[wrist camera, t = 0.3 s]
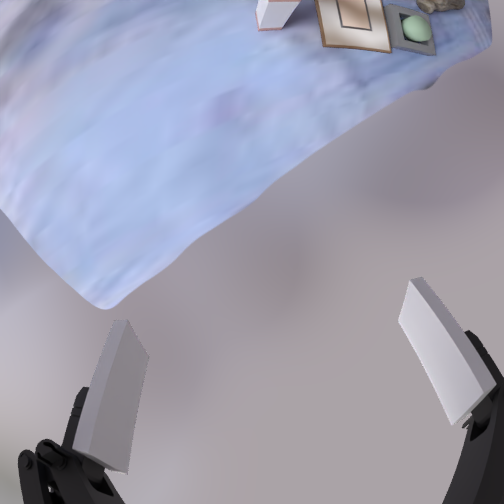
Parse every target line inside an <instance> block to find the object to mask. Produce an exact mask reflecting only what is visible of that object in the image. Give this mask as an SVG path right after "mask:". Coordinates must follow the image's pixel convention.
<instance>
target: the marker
mask: <svg viewBox="0 0 504 504" xmlns="http://www.w3.org/2000/svg"><path fill="white" fill-rule="evenodd" d="M300 1H301V0H259V1H258V5H257V9H256V13H255V14H256V20H257V26H258V31H267V30H281V29H282V27H283V26H284V24H285V23H286V21H287V20H288V18H289V17H290V15H291V14H292V12H293V11H294V10H295V8H296V7H297V5H298V4H299V2H300Z"/></svg>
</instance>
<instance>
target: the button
mask: <svg viewBox="0 0 504 504" xmlns="http://www.w3.org/2000/svg"><path fill="white" fill-rule="evenodd" d="M401 25H402V30H403V35H404V36H405V38H407V39H408V40H409V41H411V42H420V41H426V40H429V39H430V38H431V35H432V32H431V28H430V26H429V24H428V23H427V22H426V20H424V19H423V18H422V17H420V16H417V15H414V16H411V17H408V18H405V19H402V20H401Z"/></svg>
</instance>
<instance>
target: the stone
mask: <svg viewBox="0 0 504 504" xmlns="http://www.w3.org/2000/svg"><path fill="white" fill-rule="evenodd" d="M416 2H417V5H418V6H419V8H420V9H421V10H422V11H424V12H426V13H429V14H430V13H432V12H433V11H434V10H435V11H446V10H450V9H456V10H459V9H462V8H463V7H464V5H465V0H416Z"/></svg>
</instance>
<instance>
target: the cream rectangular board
mask: <svg viewBox="0 0 504 504" xmlns="http://www.w3.org/2000/svg"><path fill="white" fill-rule="evenodd" d="M314 1H315V6H316V11H317V16H318V21H319V26H320V32H321V38H322V44H323V47H334V48H349V49H360V50H369V51H376V52H383V53H391V47H390V40H389V35H388V29H387V24H386V19H385V14H384V10H383V6H382V2H381V0H314Z"/></svg>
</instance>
